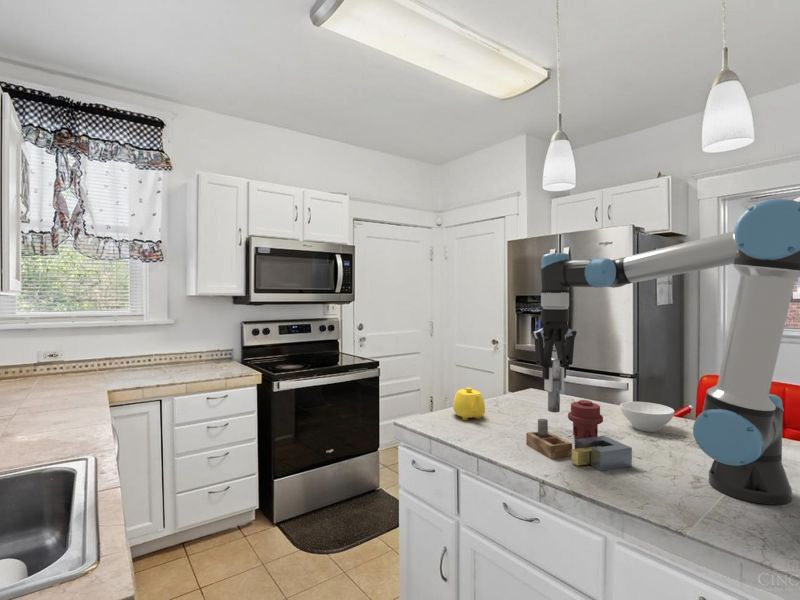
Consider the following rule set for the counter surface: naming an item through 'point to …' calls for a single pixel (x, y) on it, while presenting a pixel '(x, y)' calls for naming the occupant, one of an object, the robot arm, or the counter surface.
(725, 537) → the counter surface
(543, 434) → the frame
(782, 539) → the counter surface
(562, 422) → the counter surface
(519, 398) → the counter surface
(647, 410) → the bowl
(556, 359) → the grey cylindrical peg
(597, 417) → the mechanical component
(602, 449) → the socket block
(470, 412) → the teapot
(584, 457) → the bar
